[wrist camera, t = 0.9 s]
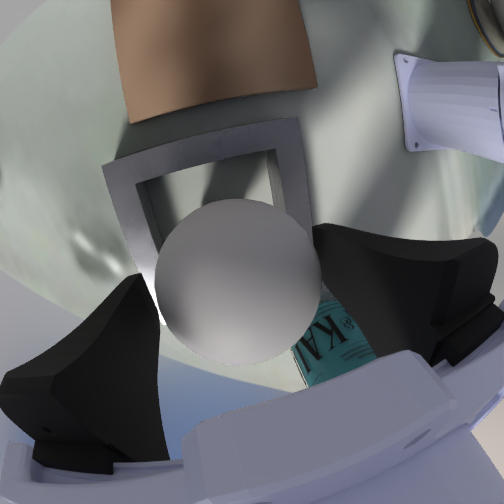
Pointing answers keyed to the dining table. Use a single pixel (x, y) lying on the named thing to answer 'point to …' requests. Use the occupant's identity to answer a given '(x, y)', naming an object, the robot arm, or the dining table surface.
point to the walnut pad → (207, 52)
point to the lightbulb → (238, 281)
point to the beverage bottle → (331, 345)
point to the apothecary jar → (489, 23)
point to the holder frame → (197, 153)
